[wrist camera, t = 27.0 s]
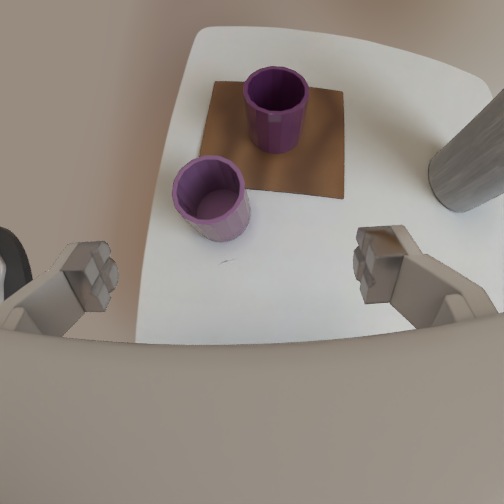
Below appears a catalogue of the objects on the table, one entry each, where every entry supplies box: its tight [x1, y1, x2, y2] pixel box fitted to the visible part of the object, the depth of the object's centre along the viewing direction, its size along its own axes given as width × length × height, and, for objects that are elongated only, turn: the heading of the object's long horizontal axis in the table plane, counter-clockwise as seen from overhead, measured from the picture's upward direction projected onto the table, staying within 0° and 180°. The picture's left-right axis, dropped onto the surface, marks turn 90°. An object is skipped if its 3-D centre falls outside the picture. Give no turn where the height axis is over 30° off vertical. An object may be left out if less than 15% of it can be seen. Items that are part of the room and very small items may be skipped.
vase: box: [429, 89, 504, 212], centre depth 26 cm, size 10×10×27 cm
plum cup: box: [243, 66, 309, 154], centre depth 36 cm, size 7×7×10 cm
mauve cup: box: [172, 155, 250, 242], centre depth 35 cm, size 7×7×10 cm
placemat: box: [199, 81, 344, 199], centre depth 41 cm, size 20×18×1 cm
